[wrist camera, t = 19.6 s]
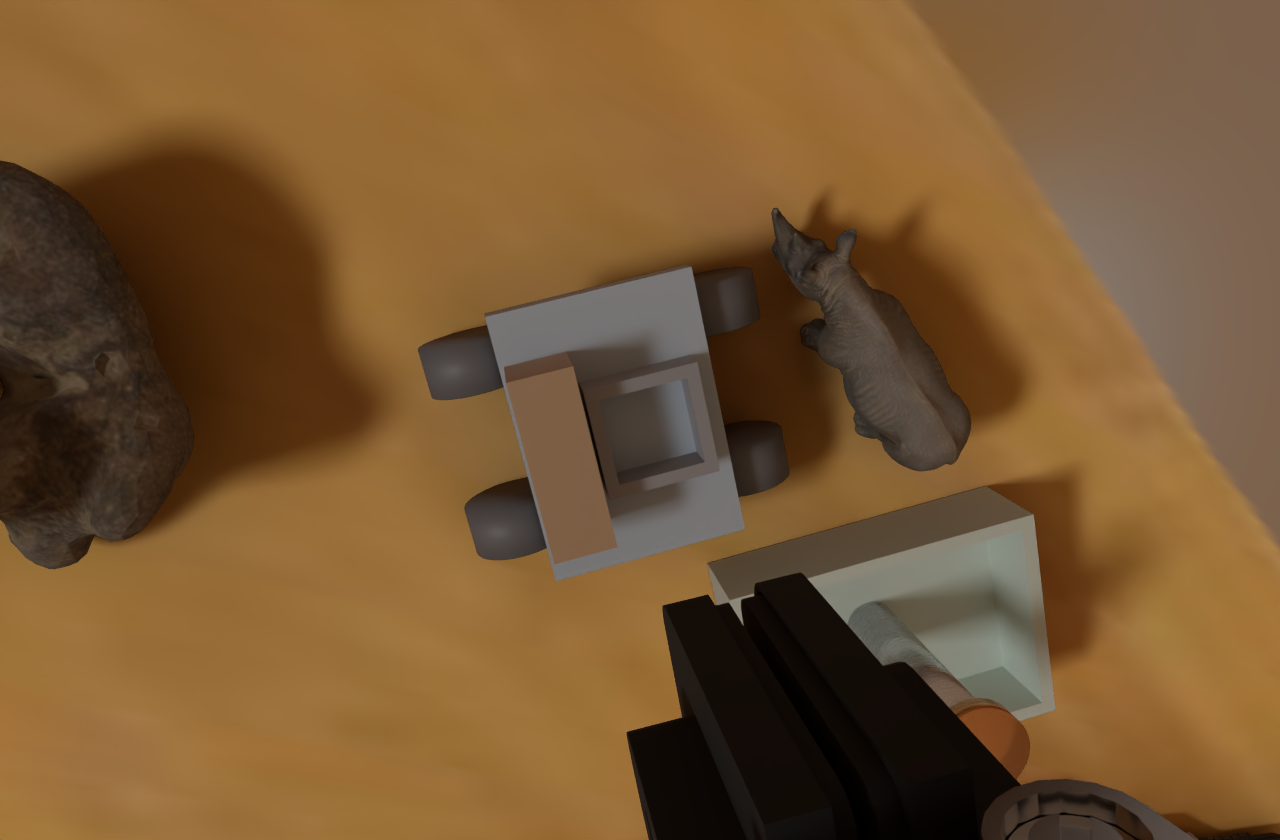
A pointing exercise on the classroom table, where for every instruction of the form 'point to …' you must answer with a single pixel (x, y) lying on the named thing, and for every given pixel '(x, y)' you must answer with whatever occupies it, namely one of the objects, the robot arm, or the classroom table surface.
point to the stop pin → (943, 684)
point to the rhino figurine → (875, 353)
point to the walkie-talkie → (1243, 837)
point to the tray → (931, 587)
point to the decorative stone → (76, 383)
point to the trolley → (613, 419)
